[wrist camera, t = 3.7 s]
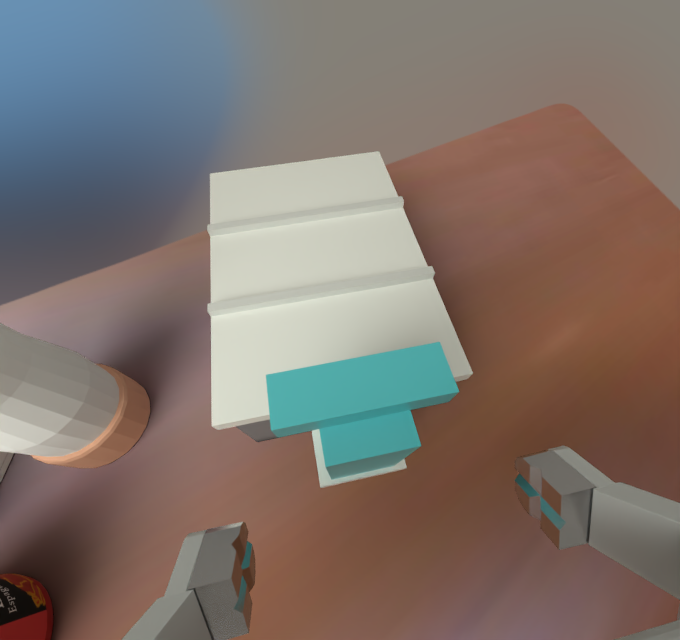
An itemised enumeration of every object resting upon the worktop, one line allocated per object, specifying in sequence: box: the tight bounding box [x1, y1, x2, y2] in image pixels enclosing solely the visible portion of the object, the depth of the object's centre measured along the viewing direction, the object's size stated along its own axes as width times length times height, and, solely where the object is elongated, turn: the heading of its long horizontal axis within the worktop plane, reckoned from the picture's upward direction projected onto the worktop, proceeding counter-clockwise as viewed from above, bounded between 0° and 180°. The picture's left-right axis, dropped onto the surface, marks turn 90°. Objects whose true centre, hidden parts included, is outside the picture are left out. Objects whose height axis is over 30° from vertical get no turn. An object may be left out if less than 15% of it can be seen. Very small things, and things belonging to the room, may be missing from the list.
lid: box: [207, 151, 473, 488], centre depth 19 cm, size 15×25×9 cm, turn 11°
